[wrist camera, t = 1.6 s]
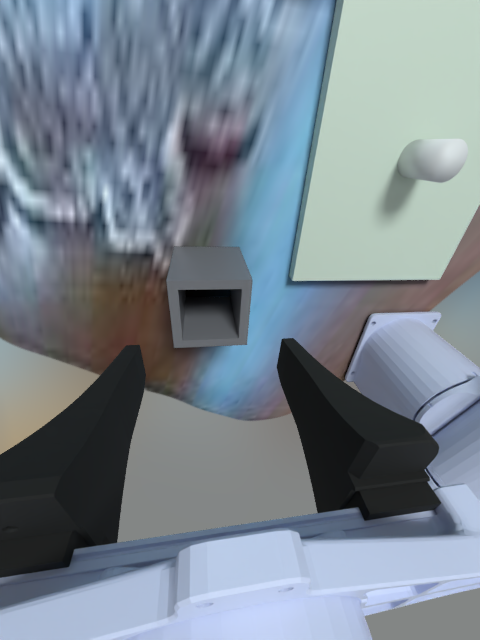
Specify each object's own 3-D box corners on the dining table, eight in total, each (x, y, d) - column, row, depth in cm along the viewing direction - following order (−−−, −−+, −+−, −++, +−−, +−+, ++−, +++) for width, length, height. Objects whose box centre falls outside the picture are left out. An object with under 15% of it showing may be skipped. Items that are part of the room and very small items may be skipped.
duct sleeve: (236, 302, 23) (246, 344, 18) (179, 303, 22) (174, 347, 17) (239, 247, 20) (252, 279, 15) (174, 246, 20) (166, 280, 15)
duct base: (431, 274, 24) (468, 295, 21) (288, 275, 22) (304, 298, 19) (583, -26, 14) (697, -76, 11) (349, -72, 12) (404, -150, 9)
